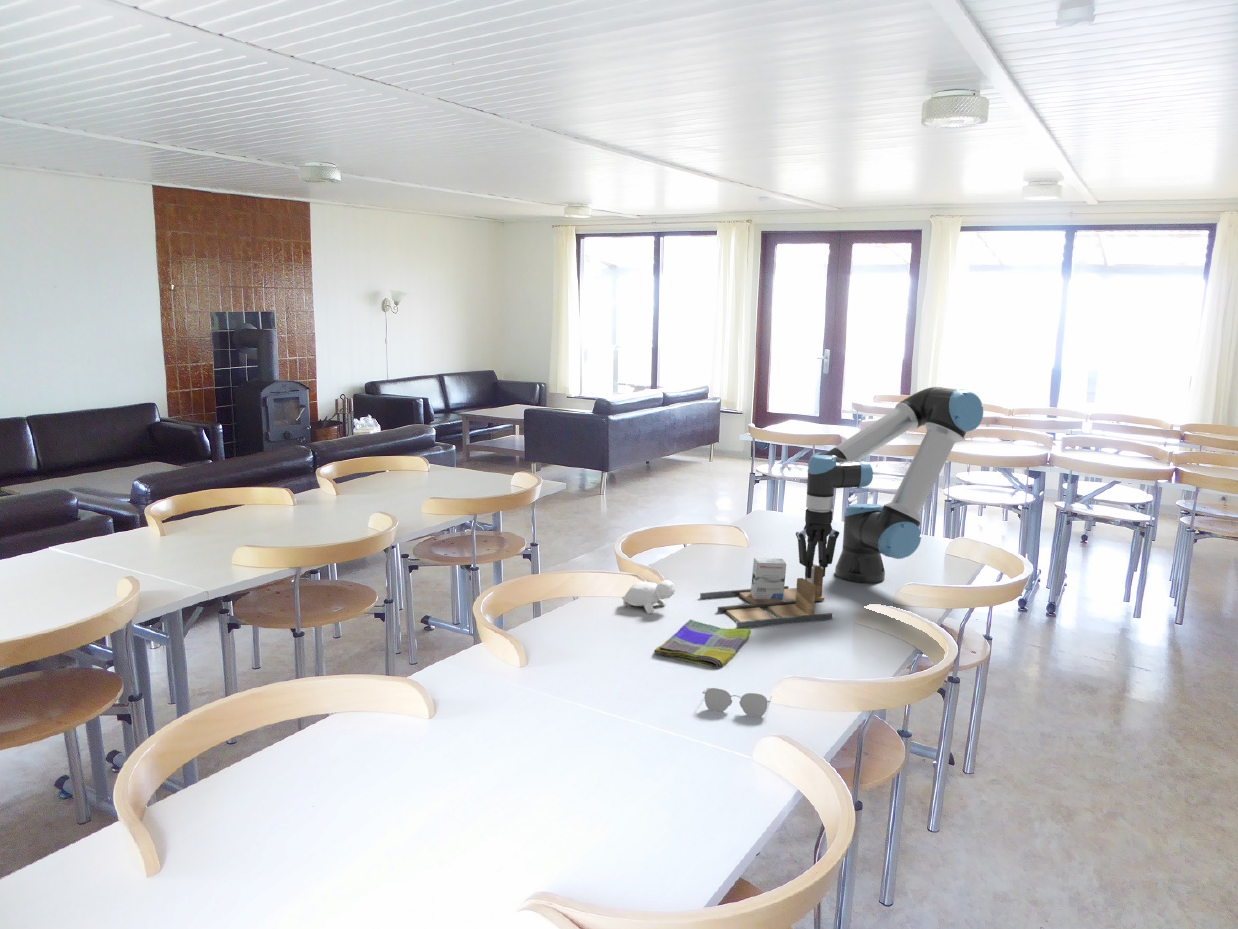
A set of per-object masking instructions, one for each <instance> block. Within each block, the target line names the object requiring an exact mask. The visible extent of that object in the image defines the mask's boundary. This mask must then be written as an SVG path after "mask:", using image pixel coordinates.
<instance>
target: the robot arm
mask: <svg viewBox="0 0 1238 929" xmlns="http://www.w3.org/2000/svg"><path fill="white" fill-rule="evenodd" d="M983 417H984V407H983V402H982V401H981V399H980V397H979V396H978V395H977V394H976V393H975V392H972V391H969V390H965V389H962V388H961V389H957V388H949V387H941V386H932V387H928V388H925V389H921V390H919V391H917V392H915V393H913V394H911V395H909V396H908V397H906V398H904V399H903V400H901V401H900V402H898V403H897V404H896V405H895V408H894V409H893V410H891V411H890V412H889V413H887V414H885V415H883V416H882V417H880V418H879V419H877V420H876V421H874V422H873V423H871V424H869V425H868V426H866V427H865V428H863V429H861V430H860V431H858V432H857V433H855V434H853V435H852V436H851V437H849V438H847V439H845V440H844V441H842V442H841V443H840V444H838V445H836V446H835V447H833V448H832V449H830V450H828V451H827V452H815V453H814V454H812V455H811V456H810V458H809V460H808V463H807V481H806V482H807V484H806V501H805V507H806V509H805V516H804V518H805V520H804V521H805V522H804V523H805V525H804V526H803V530H801V531H796V532H795V536H796V538H797V547H798V562H799V564H800V565H802V566H804V567H805V568H804V570H805V571H804V578H805V577H807V581H808V582H810V583H812V584H814V571H815V568H814V567H812V566H813V564H814V560H815V554H816V553H815V552H816V546H817V547H818V549H817V552H818V554H817V555H818V564H815V565H816V566H818V567H820V568H822V569H824V570H823V578H825V577H826V568H828V567H829V565H832V563H833V560H834V559H833V558H834V554H835V550H836V543H837V539H838V537H839V535H840V532H839V531H838V530H836V529H833V527H832V523H833V511H832V510H833V509H834V493H835V489H848V488H850V489H851V488H854V489H855V488H863V487H868V486H870V484H871V483H872V481H873V475H874V471H873V470H874V469H873V467H872V465H871V464H870V463H869V462H868V461H863V459H864V458H867V457H868V456H869V455H870V454H873V453H874V452H875V451H877V450H879V449H880V448H882V447H884V446H886V445H887V444H889V443H890V442H891V441H893V440H895V439H897V438H898V437H899V436H902V435H903V434H904V433H906V432H908V431H915V430H917V429H918V428H920V427H922V426H924V427H925V428H926V432H925V435H924V436H923V439H921V440H922V441H921V442H920V445H919V447H918V448H917V450H916V453H915V454H914V456H913V459H912V460H911V462H910V464H909V467H908V468H907V470H906V473H905V474H904V477H903V478H902V480H901V482H900V484H899V487H898V488H897V491H896V492H895V495H894V497H893V498H892V500H891V502H889V503H885V504H884V505H881V504H878V503H877V504H876V503H875V504H874V503H854V504H849V505H847V506H846V508H845V511H844V516H843V520H844V521H843V533H842V534H843V537H842V549H841V553H840V555H839V558H838V560H837V563H836V565H835V569H834V571H835V573H834V574H835V575H836V576H837V577H839V578H840V579H843V580H846V581H850V582H856V583H867V584H868V583H870V584H871V583H880V582H882V581H884V580H885V578H886V570H885V566H884V562H883V559H882V555H883V556H885V557H888V558H892V559H894V560H895V559H897V560H901V559H905V558H908V557H911V555H913V554H914V553H915V552H916V551H917V549H918V548H919V547H920V543H921V541H922V535H921V533H922V532H921V530H920V525H921V523H922V521H921V518H920V514H921V511H922V510H923V507H924V505H925V503H926V502H927V499H928V498H929V496H930V493H931V491H932V490H933V488H934V486H935V483H936V481H937V480H938V478H939V476H940V474H941V472H942V469H943V467H944V466H945V464H946V461H947V460H948V457H949V455H950V454H951V452H952V449H953V448H954V445H955V444H956V443H958V442H961V441H963V440H964V439H965V436H966V433H967V432H968V433H969V432H971V431H973V430H976V429H977V428H978V427H979V426H980V425H981V423H982V420H983ZM806 538H807V541H806Z"/></svg>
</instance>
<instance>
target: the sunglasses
mask: <svg viewBox="0 0 1238 929" xmlns="http://www.w3.org/2000/svg"><path fill="white" fill-rule="evenodd" d="M702 694H704V703H705V706H706V709H707V710H708V711H709V710H710V711H716V712H722V713H723V712H724V711H726V710H727V709H728V708H729V707H730V706H731V705H732V703H733V700H732V697H738V698H739V702H738V703H739V706H740V708H741V709H742V711H743V713H745V715H746V716H751V717H758V718H762V717H763V716H764V714H766V712H767V707H768V703H772V702H771V701H772V696H771V695H770V698H769V700H768V699H767V697H766V696H765V695H763V694H761V693H754V692H753V693H752V692H747V693H744V694H743V695H742V696H739V695H734V694H733V695H731V694H730V692H728V691H727V690H725V689H722V688H717V687H710V688H709V687H706V689H704V690H703V691H702Z"/></svg>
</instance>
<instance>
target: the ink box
mask: <svg viewBox="0 0 1238 929" xmlns="http://www.w3.org/2000/svg"><path fill="white" fill-rule="evenodd" d="M752 566H753V567H752V575H751V586H750V589H751V595H752V597H753V598H754V599H783V593H784V586H785V583H786V582H785V581H786V571H787V563H786V561H785V560H784V559H783V558H776V557H774V558H772V557H771V558H770V557H754V558H753V564H752Z"/></svg>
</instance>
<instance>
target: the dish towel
mask: <svg viewBox="0 0 1238 929" xmlns="http://www.w3.org/2000/svg"><path fill="white" fill-rule="evenodd" d="M751 632H752V630H751V629H749V628H723V627H718V626H716V625H712V624H707V623H703V622H701V621H696V620H694V619H692V618H691V619H689V620H688V621H687V622H685V623H684V624H683V625H682V627H680V628H679V629H678V630H677V631H676V632H675V633H673V635H671V637H670V638H668V639H667V640H666V641H665V642H664V643H663V644H662V645H659V646H658V647H656V648H655V649H654V650H653V652H654V653H657V654H658V655H661V656H665V657H669V658H673V659H677V660H682V661H686V662H691V663H693V664H698V665H702V666H704V667H710V668H713V669H720V668H723V667H724V666H725V665H727V664H728V663H729V662H730V661H731V660H732V659H733V658H734V657H735V656H736V655H737V654H738V652H739V651H740V649H741V648H742V647H743V645H745V643H746V642H747V641H748V639H749V637H750V635H751Z"/></svg>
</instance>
